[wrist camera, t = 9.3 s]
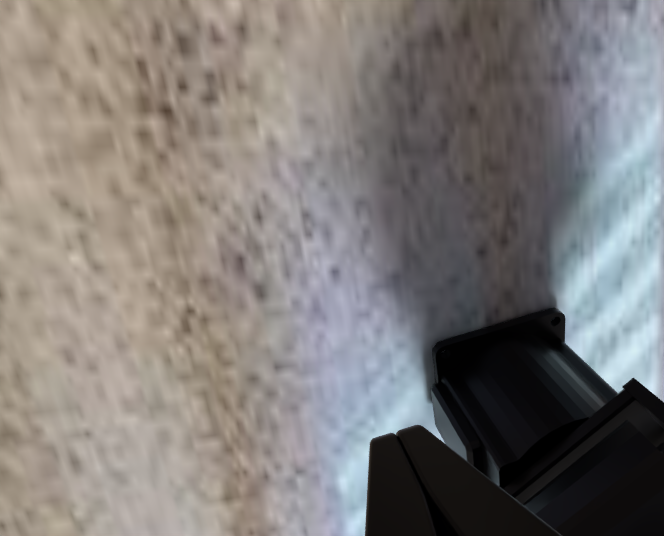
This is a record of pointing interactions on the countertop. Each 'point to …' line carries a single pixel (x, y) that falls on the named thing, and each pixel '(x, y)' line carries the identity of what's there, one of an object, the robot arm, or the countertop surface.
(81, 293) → the countertop surface
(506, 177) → the countertop surface
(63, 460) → the countertop surface
